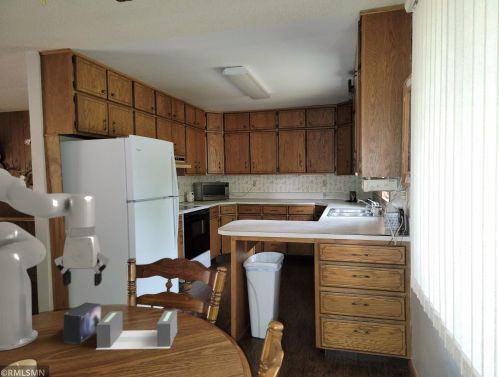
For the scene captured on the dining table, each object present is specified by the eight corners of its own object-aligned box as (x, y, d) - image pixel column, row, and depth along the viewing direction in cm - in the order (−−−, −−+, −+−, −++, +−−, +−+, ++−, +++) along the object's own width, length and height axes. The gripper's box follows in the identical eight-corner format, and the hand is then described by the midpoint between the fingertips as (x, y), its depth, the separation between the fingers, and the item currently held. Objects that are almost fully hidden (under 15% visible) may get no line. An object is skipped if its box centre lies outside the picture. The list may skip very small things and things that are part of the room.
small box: (80, 349, 99) (79, 315, 99) (62, 347, 101) (61, 314, 100) (102, 333, 110) (102, 303, 109) (85, 332, 111) (85, 301, 111)
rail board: (95, 354, 96) (95, 349, 96) (111, 335, 108) (111, 331, 108) (169, 353, 97) (169, 348, 97) (177, 334, 109) (177, 329, 109)
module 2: (157, 346, 98) (156, 323, 98) (165, 331, 108) (164, 310, 108) (170, 346, 98) (170, 323, 98) (177, 331, 108) (176, 310, 108)
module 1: (97, 347, 97) (96, 324, 97) (110, 332, 107) (110, 311, 107) (110, 347, 97) (110, 324, 97) (122, 332, 107) (122, 310, 107)
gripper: (48, 234, 101) (48, 288, 101) (104, 234, 101) (104, 288, 101) (61, 230, 108) (61, 281, 108) (113, 230, 108) (113, 281, 109)
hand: (82, 284), depth 105 cm, fingers open, 9 cm apart
